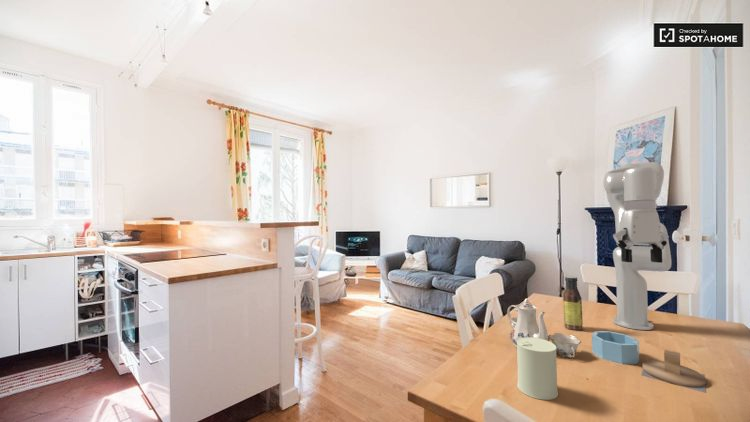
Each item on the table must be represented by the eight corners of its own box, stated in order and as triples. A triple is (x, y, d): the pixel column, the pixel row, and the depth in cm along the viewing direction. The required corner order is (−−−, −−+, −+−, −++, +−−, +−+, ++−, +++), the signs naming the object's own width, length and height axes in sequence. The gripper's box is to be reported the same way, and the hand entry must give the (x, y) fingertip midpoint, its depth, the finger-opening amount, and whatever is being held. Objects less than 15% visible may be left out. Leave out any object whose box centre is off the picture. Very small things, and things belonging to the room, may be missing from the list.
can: (510, 380, 83) (509, 336, 83) (542, 379, 84) (541, 334, 84) (530, 401, 74) (529, 350, 74) (566, 398, 75) (565, 348, 75)
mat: (645, 362, 93) (645, 360, 93) (704, 376, 84) (704, 374, 84) (641, 377, 84) (641, 374, 84) (705, 394, 76) (705, 392, 76)
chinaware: (591, 363, 96) (593, 309, 97) (554, 368, 89) (557, 310, 90) (518, 332, 122) (520, 290, 123) (485, 335, 115) (487, 290, 116)
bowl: (597, 346, 104) (597, 328, 104) (640, 357, 96) (640, 337, 96) (590, 357, 96) (589, 337, 96) (636, 369, 88) (635, 348, 88)
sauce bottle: (585, 331, 118) (584, 279, 118) (567, 330, 119) (566, 278, 119) (578, 325, 124) (576, 275, 125) (561, 324, 125) (559, 275, 126)
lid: (644, 359, 93) (644, 339, 93) (705, 374, 84) (704, 352, 84) (640, 375, 84) (639, 352, 84) (706, 393, 75) (706, 368, 75)
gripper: (654, 208, 101) (656, 261, 100) (603, 207, 100) (605, 260, 99) (678, 206, 94) (680, 263, 93) (623, 205, 93) (625, 263, 92)
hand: (641, 262), depth 96 cm, fingers open, 9 cm apart
